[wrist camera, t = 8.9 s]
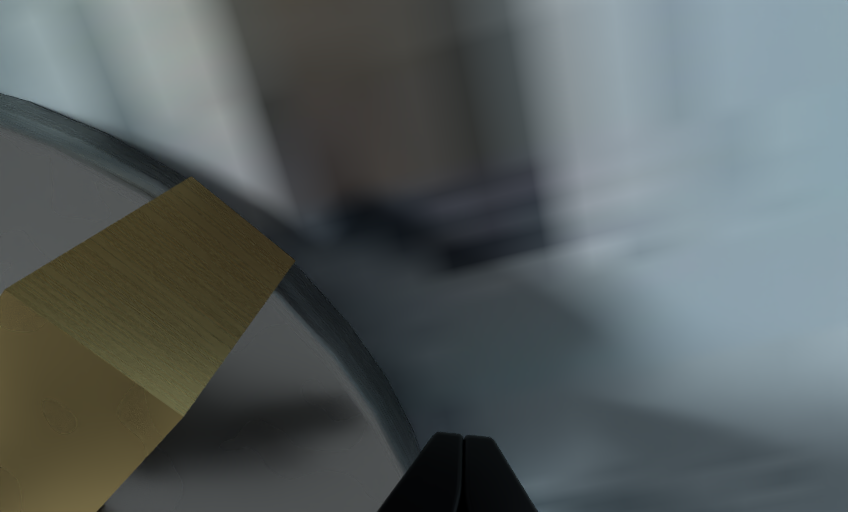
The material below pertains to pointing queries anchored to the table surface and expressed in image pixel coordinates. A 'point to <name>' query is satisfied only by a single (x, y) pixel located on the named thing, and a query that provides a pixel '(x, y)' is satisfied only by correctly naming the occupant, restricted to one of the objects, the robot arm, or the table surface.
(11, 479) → the gold crown with post
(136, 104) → the table surface
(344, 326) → the grey round tray
